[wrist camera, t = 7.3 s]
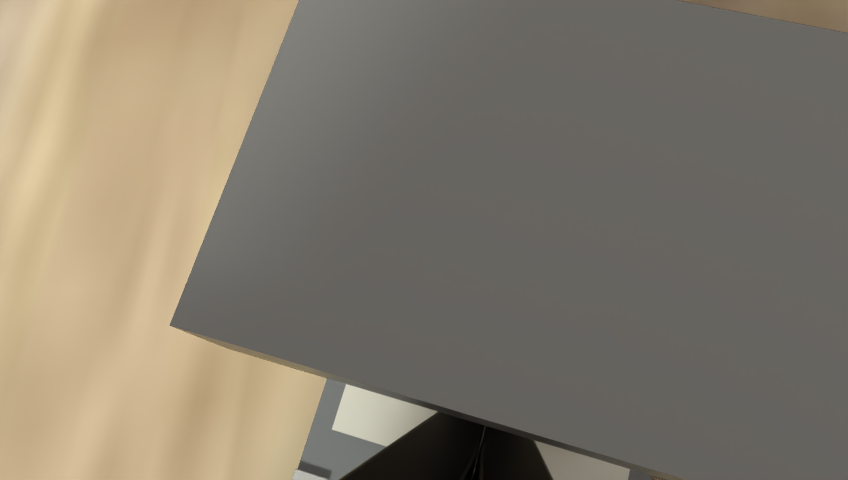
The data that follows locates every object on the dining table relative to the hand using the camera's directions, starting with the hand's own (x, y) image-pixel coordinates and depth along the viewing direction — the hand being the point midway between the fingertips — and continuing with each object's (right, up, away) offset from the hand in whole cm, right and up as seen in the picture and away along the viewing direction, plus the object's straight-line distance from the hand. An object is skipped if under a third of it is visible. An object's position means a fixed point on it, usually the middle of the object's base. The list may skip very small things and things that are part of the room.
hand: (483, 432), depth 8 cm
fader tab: (+1, -1, +8) cm, 8 cm away
